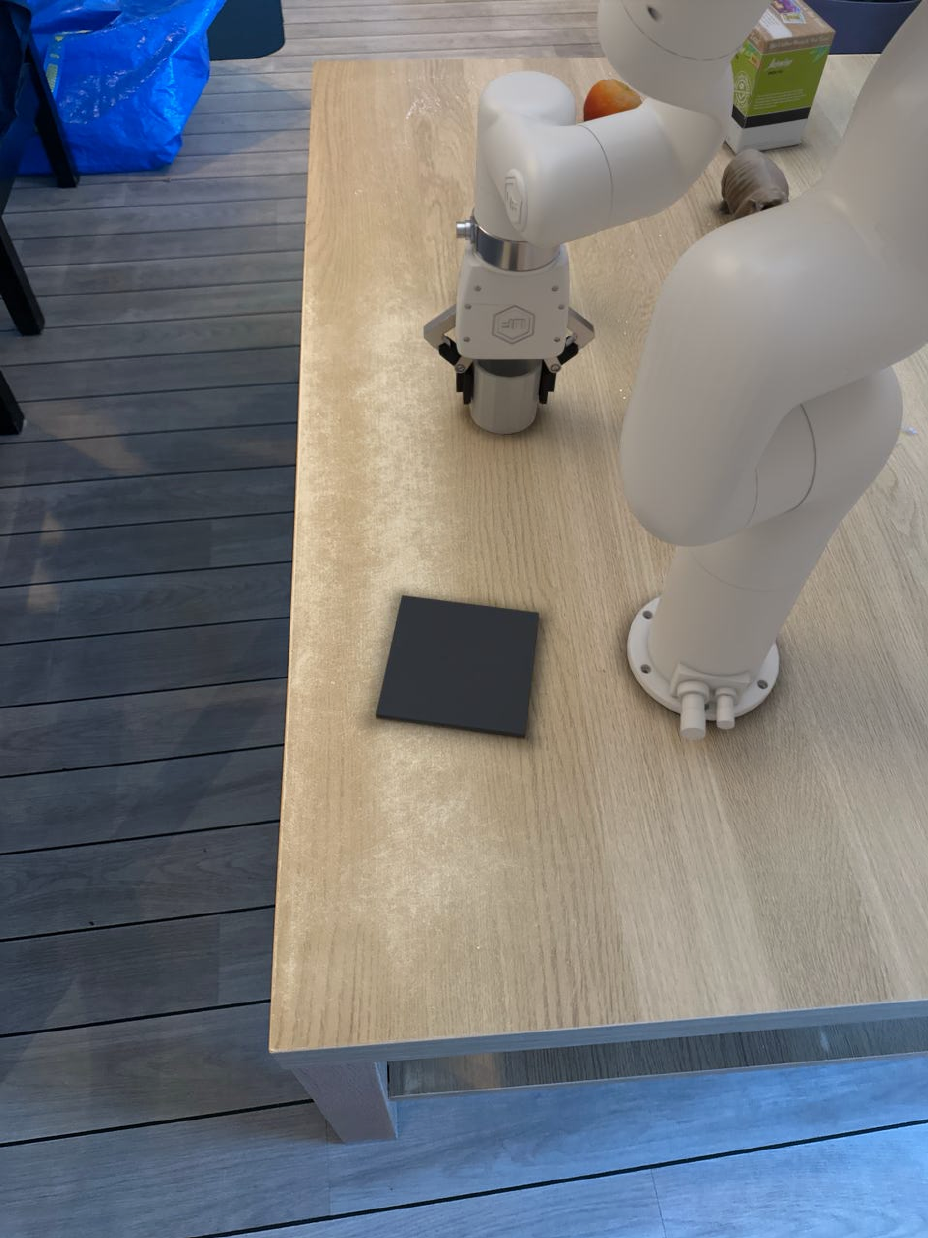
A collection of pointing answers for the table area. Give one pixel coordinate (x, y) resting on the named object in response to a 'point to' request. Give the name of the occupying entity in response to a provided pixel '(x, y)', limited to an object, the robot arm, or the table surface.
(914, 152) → the robot arm
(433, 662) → the slate mat
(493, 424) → the steel pot
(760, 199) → the rhinoceros figurine
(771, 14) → the tea box
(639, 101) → the fruit
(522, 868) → the table surface
